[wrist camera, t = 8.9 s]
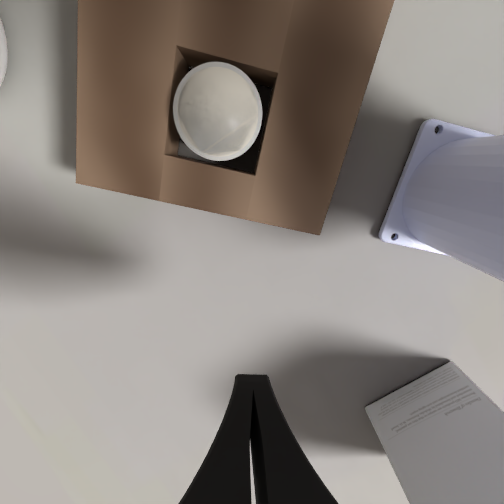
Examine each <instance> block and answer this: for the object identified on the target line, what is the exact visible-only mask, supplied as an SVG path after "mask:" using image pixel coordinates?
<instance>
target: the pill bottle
mask: <svg viewBox="0 0 504 504" xmlns="http://www.w3.org/2000/svg"><path fill="white" fill-rule="evenodd" d="M7 62H8V48H7V40H6V35H5V30H4V27H3V23H2V20H1V18H0V87H1V85H2V83H3V80H4V77H5V74H6V70H7Z"/></svg>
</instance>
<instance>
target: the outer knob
mask: <svg viewBox="0 0 504 504" xmlns="http://www.w3.org/2000/svg"><path fill="white" fill-rule="evenodd" d="M173 116H174V121H175V125H176V128H177V131H178V133H179V135H180V137H181V138H182V140H183V141H184V143H185V144H186V145H187V146H188V147H189V148H190V149H191V150H192V151H193V152H195V153H196V154H198V155H199V156H201V157H204V158H206V159H209V160H214V161H225V160H231V159H234V158H236V157H238V156H240V155H242V154H243V153H245V152H246V151H247V150H248V149H249V148H250V147H251V146H252V144H253V143H254V141H255V139H256V138H257V136H258V133H259V131H260V127H261V123H262V104H261V99H260V96H259V93H258V91H257V89H256V87H255V85H254V84H253V82H252V81H251V79H250V78H249V77H248V76H247V75H246V74H245V73H244V72H243V71H241V70H240V69H239V68H237V67H235V66H233V65H231V64H228V63H224V62H207V63H204V64H201V65H199V66H197V67H195V68H193V69H192V70H191V71H190V72H188V73H187V74H186V75H185V77H184V78H183V79H182V81H181V82H180V84H179V86H178V88H177V90H176V93H175V97H174V102H173Z"/></svg>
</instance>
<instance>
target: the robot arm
mask: <svg viewBox="0 0 504 504" xmlns="http://www.w3.org/2000/svg"><path fill="white" fill-rule="evenodd" d="M436 126H438V128H439V131H438V133H437V134H436V133H435V128H436ZM394 233H395V237H394V238H393V239H391V236H392V234H394ZM378 236H379V238H380V240H382V241H384V242H387V243H392V244H397V245H401V246H406V247H410V248H415V249H420V250H424V251H429V252H433V253H438V254H442V255H447V256H451V257H453V258H455V259H457V260H459V261H461V262H464V263H466V264H468V265H470V266H472V267H474V268H476V269H478V270H480V271H482V272H485V273H487V274H489V275H491V276H493V277H495V278H497V279H499V280H501V281H503V282H504V135H500V136H496V135H492V134H488V133H485V132H481V131H477V130H474V129H470V128H466V127H463V126H459V125H455V124H451V123H448V122H444V121H440V120H437V119H428V120H426V121H424V122H423V123H422V125H421V126H420V129H419V131H418V134H417V136H416V139H415V142H414V144H413V147H412V149H411V152H410V154H409V157H408V160H407V162H406V165H405V167H404V170H403V172H402V175H401V177H400V180H399V183H398V185H397V188H396V190H395V193H394V195H393V198H392V201H391V203H390V206H389V208H388V211H387V213H386V216H385V218H384V221H383V224H382V226H381V229H380V231H379V235H378ZM250 442H251V453H252V464H253V475H254V486H255V497H256V504H338V502H337V501H336V500H335V498H334V497H333V496H332V494H331V493H330V492H329V490H328V489H327V488H326V486H325V485H324V483H323V482H322V480H321V479H320V477H319V476H318V474H317V473H316V472H315V470H314V469H313V467H312V465H311V464H310V462H309V461H308V459H307V457H306V456H305V454H304V453H303V451H302V449H301V447H300V446H299V444H298V442H297V440H296V439H295V437H294V435H293V433H292V431H291V429H290V427H289V425H288V423H287V421H286V419H285V417H284V415H283V413H282V411H281V409H280V407H279V404H278V402H277V400H276V397H275V395H274V392H273V389H272V387H271V384H270V380H269V377H268V376H267V375H250V374H238V375H236V376H235V383H234V388H233V392H232V395H231V398H230V402H229V405H228V407H227V410H226V413H225V415H224V418H223V421H222V423H221V425H220V428H219V430H218V432H217V434H216V437H215V439H214V441H213V443H212V445H211V447H210V449H209V451H208V453H207V455H206V457H205V459H204V461H203V463H202V465H201V467H200V469H199V470H198V472H197V474H196V476H195V477H194V479H193V481H192V483H191V485H190V486H189V488H188V490H187V491H186V493H185V495H184V496H183V498H182V499H181V501H180V502H179V504H251V479H250Z"/></svg>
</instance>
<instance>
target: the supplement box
mask: <svg viewBox="0 0 504 504" xmlns="http://www.w3.org/2000/svg"><path fill="white" fill-rule="evenodd" d="M365 411H366V413H367V415H368V417H369V419H370V421H371V423H372V425H373V427H374V429H375V432H376V434H377V436H378V438H379V440H380V442H381V444H382V446H383V448H384V450H385V452H386V455H387V457H388V459H389V461H390V463H391V465H392V467H393V469H394V471H395V474H396V476H397V478H398V480H399V482H400V484H401V486H402V488H403V490H404V493H405V495H406V497H407V499H408V501H409V503H410V504H504V412H503V411H502V410H501V409H500V408H499V407H498V406H497V405H496V404H495V403H494V402H493V401H492V400H491V399H490V398H489V397H488V396H487V395H486V394H485V393H484V392H483V391H482V390H481V389H480V388H479V387H478V386H477V385H476V384H475V383H474V382H473V381H472V380H471V379H470V378H469V377H468V376H467V375H466V374H465V373H464V372H463V371H462V370H461V369H460V368H459V367H458V366H457V365H456V364H455V363H454V362H453V361H450V362H448V363H447V364H445V365H443V366H441V367H439V368H437V369H436V370H434V371H432V372H430V373H428V374H426V375H424V376H423V377H421V378H419V379H417V380H415V381H413V382H411V383H410V384H408V385H406V386H404V387H402V388H400V389H398V390H396V391H395V392H393V393H391V394H389V395H387V396H385V397H384V398H382V399H380V400H378V401H376V402H374V403H372V404H370V405H368V406H366V407H365Z"/></svg>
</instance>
